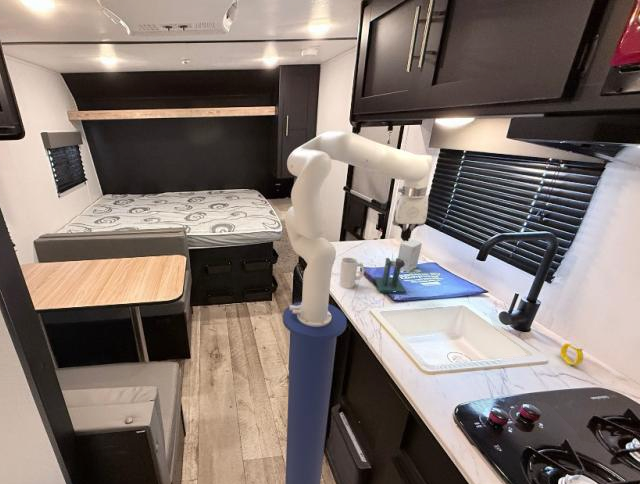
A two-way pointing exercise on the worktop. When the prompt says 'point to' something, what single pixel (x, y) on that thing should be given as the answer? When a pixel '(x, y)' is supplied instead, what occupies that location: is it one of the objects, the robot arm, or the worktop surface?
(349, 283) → the mug
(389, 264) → the toaster bracket
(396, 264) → the toaster lever
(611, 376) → the worktop surface
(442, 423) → the worktop surface
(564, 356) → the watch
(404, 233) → the robot arm
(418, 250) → the small box
